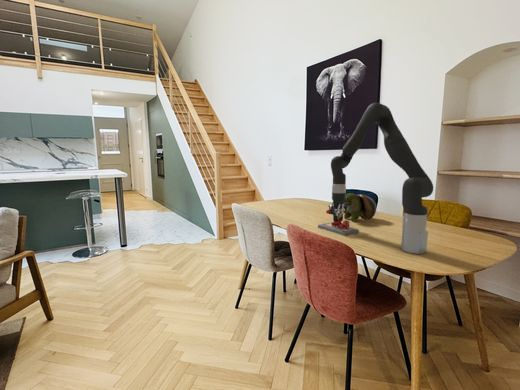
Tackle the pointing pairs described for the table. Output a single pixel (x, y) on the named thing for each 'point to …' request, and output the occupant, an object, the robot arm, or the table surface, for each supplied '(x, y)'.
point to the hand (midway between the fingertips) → (338, 221)
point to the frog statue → (359, 207)
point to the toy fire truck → (338, 224)
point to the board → (338, 229)
